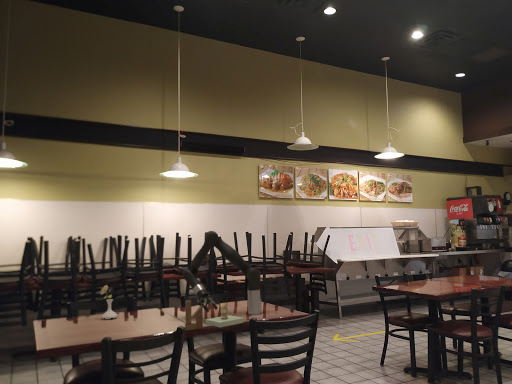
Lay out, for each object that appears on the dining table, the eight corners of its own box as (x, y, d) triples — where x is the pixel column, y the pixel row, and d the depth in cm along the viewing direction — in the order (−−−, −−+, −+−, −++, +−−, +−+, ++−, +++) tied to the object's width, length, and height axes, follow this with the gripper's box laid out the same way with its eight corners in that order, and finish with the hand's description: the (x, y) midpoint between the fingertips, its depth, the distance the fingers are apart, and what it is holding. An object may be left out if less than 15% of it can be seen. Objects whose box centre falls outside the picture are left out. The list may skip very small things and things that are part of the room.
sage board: (229, 319, 294) (229, 315, 294) (244, 322, 282) (243, 317, 282) (205, 324, 281) (205, 319, 281) (219, 327, 269) (219, 322, 269)
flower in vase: (111, 316, 321) (111, 283, 323) (120, 318, 314) (120, 283, 317) (96, 319, 310) (96, 285, 313) (105, 321, 304) (105, 285, 306)
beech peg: (225, 322, 285) (224, 302, 286) (229, 323, 281) (229, 303, 282) (219, 323, 282) (218, 303, 283) (223, 324, 278) (223, 304, 279)
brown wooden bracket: (203, 329, 266) (202, 299, 268) (186, 331, 262) (185, 301, 264) (201, 327, 270) (200, 299, 271) (184, 329, 265) (184, 300, 267)
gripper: (195, 289, 291) (207, 308, 282) (210, 287, 302) (222, 304, 293) (190, 297, 294) (202, 315, 285) (205, 294, 305) (217, 312, 296)
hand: (212, 310), depth 289 cm, fingers open, 8 cm apart
